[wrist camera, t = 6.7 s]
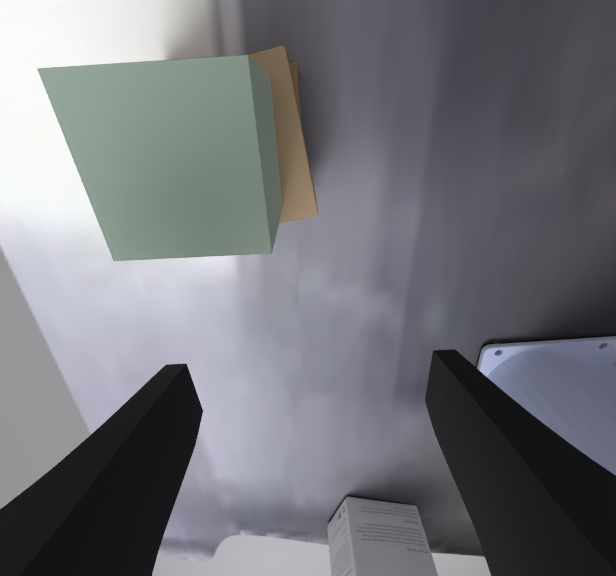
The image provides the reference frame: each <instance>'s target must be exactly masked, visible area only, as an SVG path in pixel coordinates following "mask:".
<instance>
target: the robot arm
mask: <svg viewBox="0 0 616 576" xmlns="http://www.w3.org/2000/svg"><path fill="white" fill-rule="evenodd" d="M497 350H498V351H497ZM496 351H497V352H496ZM425 402H426V405H427V409H428V412H429V416H430V419H431V422H432V426H433V429H434V432H435V435H436V438H437V440H438V443H439V445H440V447H441V450H442V452H443V454H444V457H445V459H446V462H447V464H448V466H449V469H450V471H451V473H452V476H453V478H454V480H455V483H456V485H457V487H458V490H459V492H460V494H461V497H462V499H463V501H464V504H465V506H466V508H467V511H468V513H469V515H470V518H471V520H472V522H473V525H474V528H475V530H476V533H477V535H478V538H479V540H480V543H481V546H482V549H483V552H484V555H485V558H486V561H487V564H488V567H489V570H490V573H491V576H616V336H612V337H597V338H581V339H566V340H551V341H536V342H521V343H505V344H490V345H486V346H485V347H483V349H482V350H481V354H480V358H479V362H478V366H477V368H476V367H475V366H474V365H472V364H471V363H470V362H469V361H468V360H467V359H466V358H464V357H463V356H462V355H461V354H460V353H458V352H457V351H456V350H455V349H454V350H435V351H433V355H432V361H431V367H430V373H429V379H428V385H427V392H426V398H425ZM202 413H203V410H202V407H201V404H200V401H199V398H198V395H197V393H196V390H195V387H194V384H193V381H192V378H191V375H190V373H189V370H188V367H187V364H172V365H166V366H164V367H163V368H162V369H161V370H160V371H159V372H158V373H157V374H156V375H155V376H153V377H152V378H151V379H150V380H149V381H148V382H147V383H146V384H145V385H144V386H143V387H142V388H141V389H140V390H139V391H138V392H137V393H136V394H135V395H134V396H132V397H131V398H130V399H129V400H128V401H127V402H126V403H125V404H124V405H123V406H122V407H121V408H120V409H119V410H118V411H117V412H115V413H114V414H113V415H112V416H111V417H110V418H109V419H108V420H107V421H106V422H105V423H104V424H103V425H102V426H100V427H99V428H98V429H97V430H96V431H95V432H94V433H93V434H91V435H90V436H89V437H88V438H87V439H86V440H85V441H84V442H82V443H81V444H80V445H79V446H78V447H77V448H75V449H74V450H73V451H72V452H71V453H70V454H69V455H67V456H66V457H65V458H64V459H63V460H62V461H61V462H60V463H58V464H57V465H56V466H55V467H53V468H52V469H51V470H50V471H49V472H48V473H46V474H45V475H44V476H42V477H41V478H40V479H39V480H38V481H36V482H35V483H34V484H33V485H31V486H30V487H29V488H27V489H26V490H25V491H23V492H22V493H21V494H20V495H18V496H17V497H16V498H14V499H13V500H12V501H11V502H9V503H8V504H7V505H6V506H4V507H3V508H1V509H0V576H152V572H153V569H154V565H155V561H156V557H157V554H158V550H159V547H160V544H161V541H162V538H163V535H164V532H165V529H166V526H167V523H168V520H169V518H170V515H171V512H172V509H173V506H174V504H175V501H176V498H177V495H178V493H179V490H180V487H181V484H182V481H183V479H184V476H185V473H186V470H187V467H188V464H189V462H190V459H191V456H192V453H193V450H194V447H195V444H196V439H197V435H198V431H199V427H200V422H201V417H202Z"/></svg>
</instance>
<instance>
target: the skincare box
mask: <svg viewBox="0 0 616 576" xmlns="http://www.w3.org/2000/svg"><path fill="white" fill-rule="evenodd" d="M327 527H328V540H329V553H330V564H331V576H438V574H437V571H436V568H435V564H434V561H433V558H432V555H431V551H430V548H429V545H428V542H427V539H426V535H425V532H424V529H423V526H422V522H421V519H420V516H419V513H418V510H417V506H415V505H407V504H400V503H392V502H385V501H377V500H369V499H361V498H355V497H346V498H345V500H344V501H343V503H342V504H341V506H340V507H339V509H338V510H337V512H336V513H335V515H334V516H333V518H332V519H331V521H330V523H329V525H328V526H327Z"/></svg>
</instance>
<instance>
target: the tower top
mask: <svg viewBox="0 0 616 576" xmlns="http://www.w3.org/2000/svg"><path fill="white" fill-rule="evenodd" d="M248 56H250V57H251V58H252V59H253V60H254V61H255V62H256V63H257V64H258V65H260V66H261V67H262V68H263V69H264V70H265V71H266V72H267V73H268V74H269V75H270V76H271V87H272V98H273V109H274V119H275V130H276V141H277V151H278V162H279V173H280V184H281V194H282V205H283V209H282V213H281V217H280V221H279V223H282V222H287V221H292V220H296V219H301V218H306V217H311V216H316V215H318V210H317V201H316V195H315V190H314V185H313V180H312V175H311V170H310V165H309V160H308V155H307V149H306V144H305V139H304V134H303V129H302V124H301V119H300V114H299V109H298V104H297V99H296V94H295V89H294V84H293V79H292V74H291V68H290V63H289V58H288V55H287V52H286V49H285V46H284V45H282V46H278V47H275V48H271V49H267V50H263V51H260V52H256V53H252V54H249V55H248Z"/></svg>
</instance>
